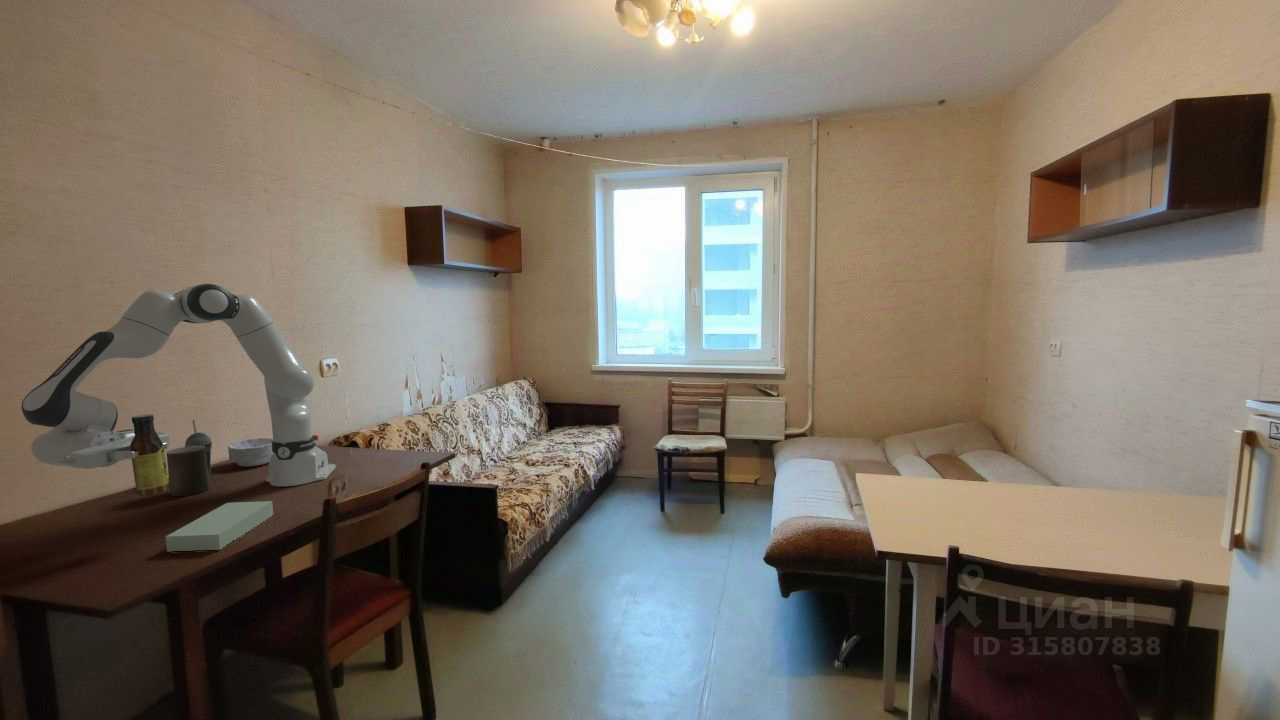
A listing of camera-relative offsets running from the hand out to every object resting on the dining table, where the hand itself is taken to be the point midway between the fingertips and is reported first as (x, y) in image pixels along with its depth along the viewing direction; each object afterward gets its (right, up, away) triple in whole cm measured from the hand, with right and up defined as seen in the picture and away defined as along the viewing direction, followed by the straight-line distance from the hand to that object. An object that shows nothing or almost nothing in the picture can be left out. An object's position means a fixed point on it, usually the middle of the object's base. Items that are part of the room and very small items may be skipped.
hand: (151, 450), depth 137 cm
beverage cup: (-28, -18, +50) cm, 60 cm away
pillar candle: (-21, -19, +37) cm, 46 cm away
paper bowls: (-21, -16, +67) cm, 72 cm away
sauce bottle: (-1, -11, +1) cm, 11 cm away
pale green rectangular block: (+14, -22, +6) cm, 27 cm away
